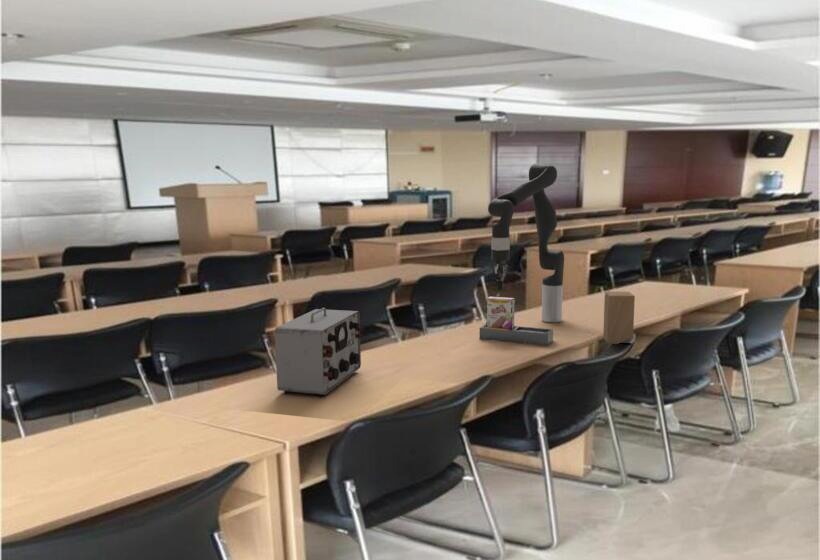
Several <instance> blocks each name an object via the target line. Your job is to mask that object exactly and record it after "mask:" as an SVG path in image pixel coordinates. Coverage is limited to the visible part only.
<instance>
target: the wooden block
mask: <svg viewBox="0 0 820 560" xmlns="http://www.w3.org/2000/svg"><path fill="white" fill-rule="evenodd" d="M603 305H604V306H603V308H604V309H603V310H604V311H603V335H602V337H603V339H604V341H605V342H606V343H607V344H608V345H620V344H619V343H621V342H623V341H625V340H627V339H629V338H632V339H633V340H634V326H635V325H634V323H635V322H634V321H635V295H634V294H633V293H631V292H630V291H604V304H603Z"/></svg>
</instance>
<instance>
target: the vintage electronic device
mask: <svg viewBox="0 0 820 560" xmlns="http://www.w3.org/2000/svg"><path fill="white" fill-rule="evenodd" d="M360 316H361V315H360V311H358V310H344V309H342V310H339V309H327V308H325V307H322V308H320V309H319V308H315V309H313V310H311V311H309V312H306V313H304V314H302V315H300V316H298V317H296V318H294V319H292V320H289V321H287V322H285V323H283V324H280V325H279V326H276V327H275V329H274V343H275V344H274V347H275V365H276V366H275V367H276V368H275V369H276V389H277V391H282V392H284V394H286V395H288V394H289V395H290V394H292V393H303V394H315V395H317V397H318V398H319V397H320V398H324V397H325V396H326V395H327V394H328V393H330V392H331V391H333V390H334V389H335V388H336V387H337V386H339V385H340V384H341V383H343V382H344V381H345V380H347V379H348V378H349V377H351V376H352V375H354V374H355V373H356V372H357V371H358V370H359V369H361V366H362V358H361V357H362V355H361V354H362V353H361V352H362V351H361V339H363V338H364V334H362V333H361V332H363V331H364V327H361V319H360V318H361V317H360Z"/></svg>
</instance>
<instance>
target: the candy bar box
mask: <svg viewBox="0 0 820 560" xmlns="http://www.w3.org/2000/svg"><path fill="white" fill-rule="evenodd" d="M515 299H516V298H514V297H503V296H501V297H500V296H488V297H487V298H486V307H485V308H486V311H485V313H486V317H485V318H486V320H485V324H486V327H493V328H504V329H509V330H513V329H514V326H515V304H516V303H515V301H516V300H515Z"/></svg>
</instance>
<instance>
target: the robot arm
mask: <svg viewBox="0 0 820 560" xmlns="http://www.w3.org/2000/svg"><path fill="white" fill-rule="evenodd" d="M557 177H558V171H557V168H556V167H555V166H554V165H552V164H543V163H532V165H530V167H529V170H528V181H526V182H522V183H520V184H518V185H515V186H514V187H512V188H511V189H510V190H508V192H506V193H504V194H501V195H499V196H496V197H495V198H493V199H491V201H490V202H489V204H488V206H487V210H488V214H489V215H490V216H492V217H496V218H497V217H498V218H500V219H499V221H498V222H494V223H493V224H492V227H491V243H490V244H491V245H490V246H491V247H490V249H491V250H490V251H491V252H490V253H491V256H490V258H491V260H493V261H495V262H494V263H495V264H494V267H493V269H492V273H493V275H494V276H493V278H494V280H495V281H496V289H497V291H502V290H504V281H505V279H506V278H507V277H506V276H507V273H508V265H507V263H506V261H509V260H510V257H511V256H510V253H511V252H510V251H511V250H510V247H511V243H510V226H511V223H512V219H513V216H514V210H515V208H517V207H519V205H521V204H522V203H524V202H525V201H526V200H527V199H528V198H530V197H532V200H533V208H534V216H535V217H534V218H535V225H536V232H537V240H538V241H537V242H538V260H539V261H538V262H539V266H540V268H541V269H542V270H545V271H546V270H548V271H554V273H553V274H552V275H549V276H545V277H543V278H542V287H541V288H542V289H541V290H542V291H541V293H542V294H541V295H542V296H541V321H543V322H546V323H560V322H562V319H563V315H562V314H563V288H564V287H563V281H564V269H565V268H564V267H565V253H564V252H563V251H562V250H559V249H557V250H556V249H554V250H553V249H549V248H548V243H549V240H550V239H551V236H553V234H554V232H555V231H556V229H557V225H558V221H557V212H556V208H555V207H554V205H553V203H552V202H551V200H550V199H549V197H548V196H547V194H546V192H545V189H547V188H549V187H551V186H552V185H554V183H555V182H556V180H557Z"/></svg>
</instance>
